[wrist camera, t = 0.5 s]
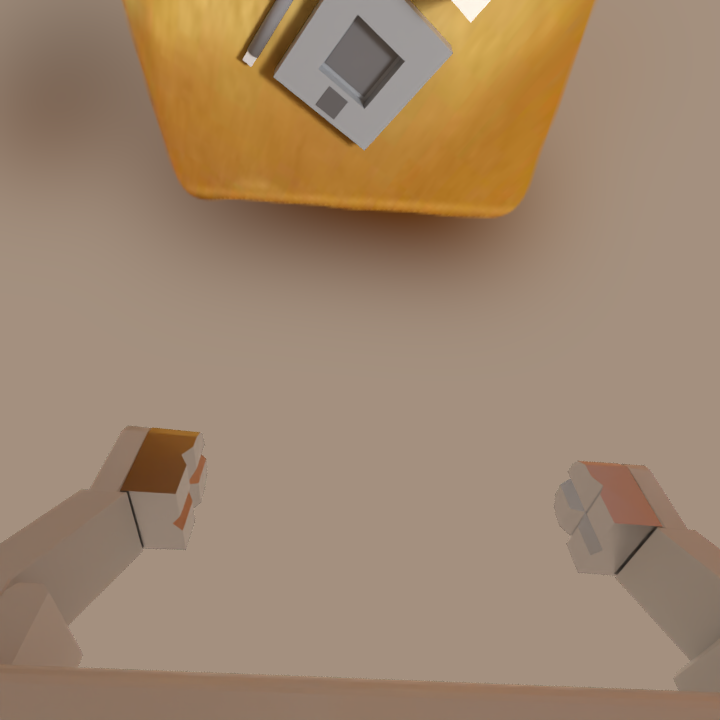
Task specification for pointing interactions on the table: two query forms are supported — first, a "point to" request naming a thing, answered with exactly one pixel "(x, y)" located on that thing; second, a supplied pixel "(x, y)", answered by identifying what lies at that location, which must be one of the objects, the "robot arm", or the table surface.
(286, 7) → the bar
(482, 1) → the brick
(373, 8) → the plate
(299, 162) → the table surface
